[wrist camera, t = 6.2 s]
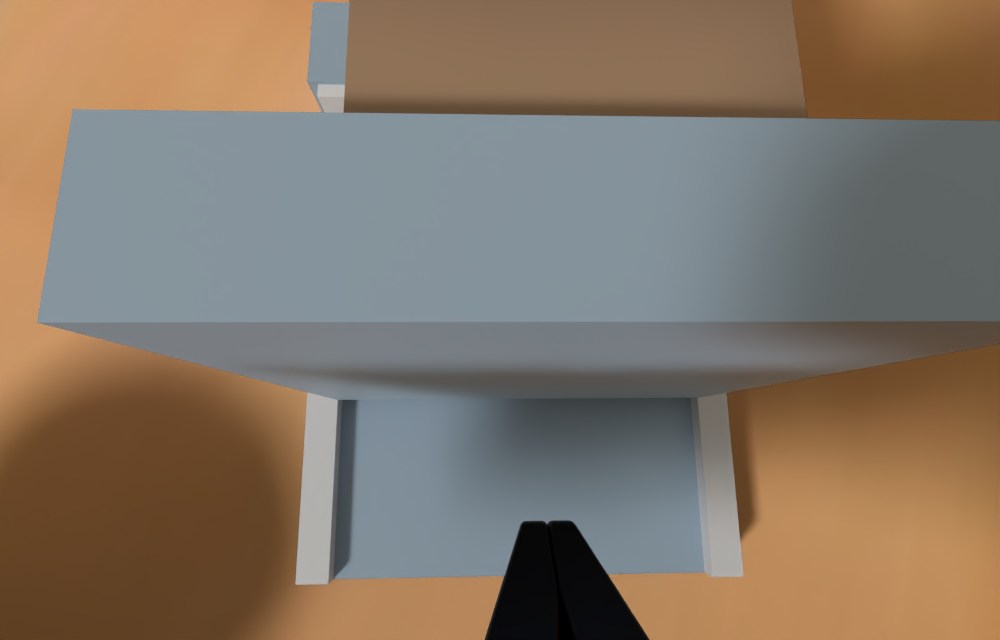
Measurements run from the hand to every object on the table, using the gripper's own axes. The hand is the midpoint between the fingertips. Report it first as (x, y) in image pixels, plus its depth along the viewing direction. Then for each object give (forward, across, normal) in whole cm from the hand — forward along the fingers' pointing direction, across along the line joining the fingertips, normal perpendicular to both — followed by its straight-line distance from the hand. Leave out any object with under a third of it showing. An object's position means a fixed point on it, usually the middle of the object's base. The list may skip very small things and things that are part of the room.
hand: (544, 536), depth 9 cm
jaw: (+6, 0, +1) cm, 6 cm away
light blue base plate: (+8, 0, +1) cm, 8 cm away
